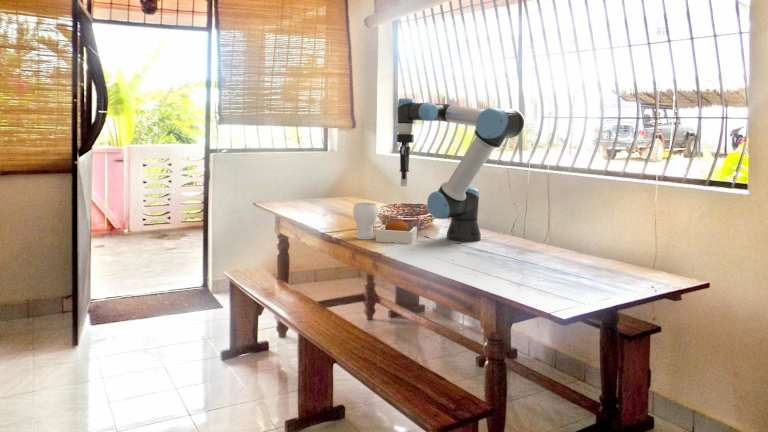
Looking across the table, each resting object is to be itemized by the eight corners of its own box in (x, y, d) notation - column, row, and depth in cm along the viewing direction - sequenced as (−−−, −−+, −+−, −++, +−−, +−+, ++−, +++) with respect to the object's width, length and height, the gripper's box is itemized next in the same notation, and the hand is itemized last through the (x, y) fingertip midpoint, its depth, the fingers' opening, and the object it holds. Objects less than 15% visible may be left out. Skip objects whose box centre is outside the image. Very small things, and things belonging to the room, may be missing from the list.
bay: (383, 234, 283) (383, 219, 282) (417, 237, 280) (418, 221, 279) (375, 241, 268) (375, 225, 267) (411, 243, 265) (412, 227, 264)
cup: (374, 241, 269) (374, 206, 266) (350, 239, 271) (350, 205, 269) (379, 236, 279) (380, 203, 277) (356, 235, 281) (356, 201, 279)
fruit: (413, 240, 273) (414, 222, 271) (393, 242, 267) (394, 223, 266) (399, 236, 281) (399, 218, 280) (380, 238, 276) (380, 220, 274)
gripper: (399, 133, 287) (398, 184, 290) (394, 133, 274) (393, 187, 278) (416, 133, 285) (414, 185, 289) (411, 134, 273) (409, 188, 276)
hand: (404, 186), depth 283 cm, fingers closed
